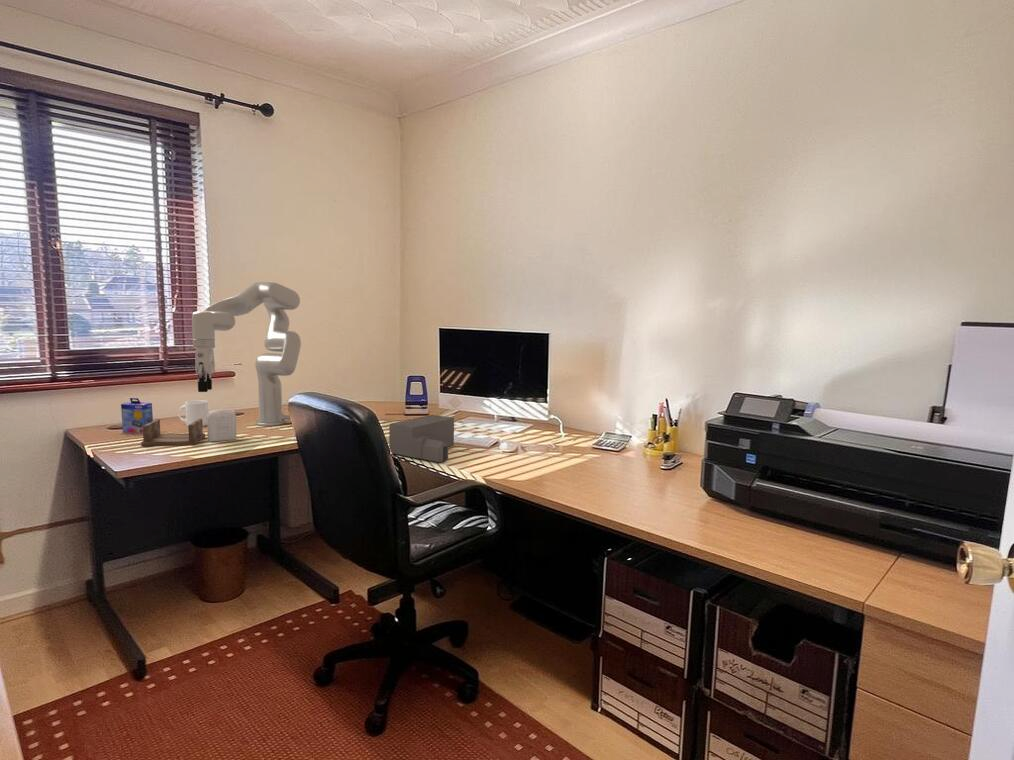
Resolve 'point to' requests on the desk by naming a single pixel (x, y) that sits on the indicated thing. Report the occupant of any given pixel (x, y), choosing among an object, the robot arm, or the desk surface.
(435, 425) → the grey stepped block
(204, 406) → the mug
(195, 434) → the walnut rack
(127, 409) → the ink cartridge box
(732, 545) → the desk surface
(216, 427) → the photo printer
